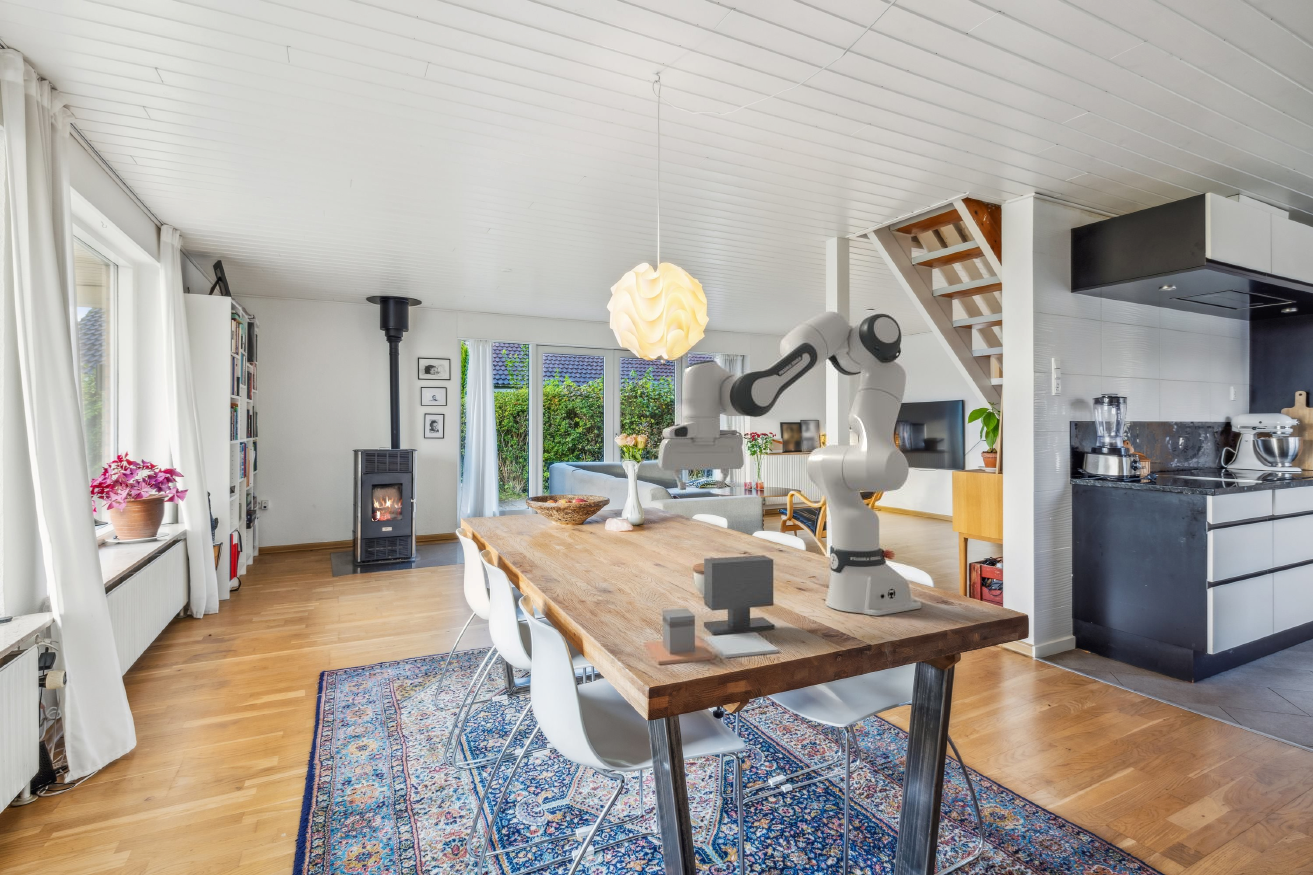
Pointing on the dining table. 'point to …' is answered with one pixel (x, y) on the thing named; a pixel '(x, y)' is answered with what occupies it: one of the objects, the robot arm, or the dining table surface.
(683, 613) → the cartridge
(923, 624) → the dining table surface
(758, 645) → the pale pad
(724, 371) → the robot arm
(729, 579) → the mounted unit
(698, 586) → the lidded jar
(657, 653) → the terracotta pad
